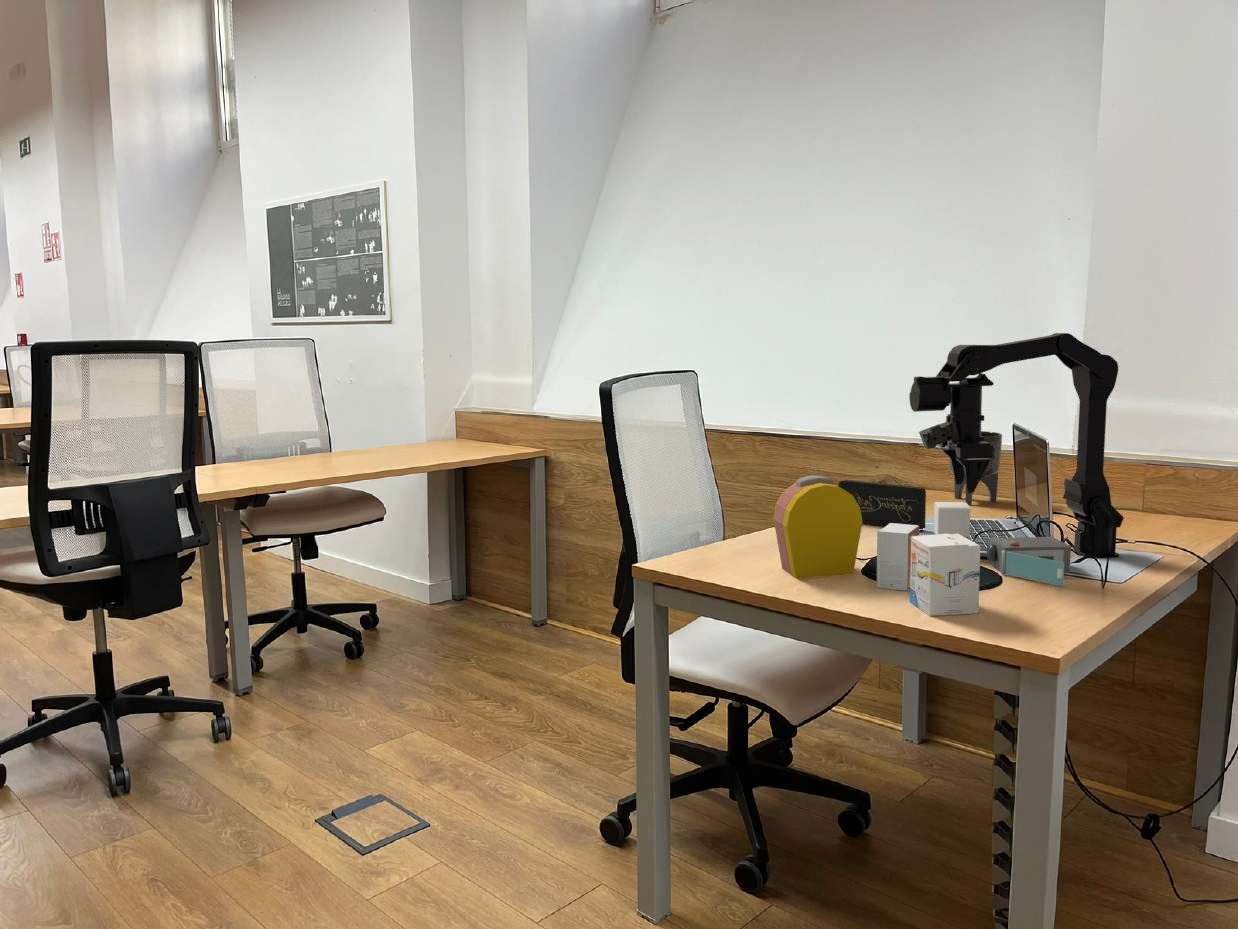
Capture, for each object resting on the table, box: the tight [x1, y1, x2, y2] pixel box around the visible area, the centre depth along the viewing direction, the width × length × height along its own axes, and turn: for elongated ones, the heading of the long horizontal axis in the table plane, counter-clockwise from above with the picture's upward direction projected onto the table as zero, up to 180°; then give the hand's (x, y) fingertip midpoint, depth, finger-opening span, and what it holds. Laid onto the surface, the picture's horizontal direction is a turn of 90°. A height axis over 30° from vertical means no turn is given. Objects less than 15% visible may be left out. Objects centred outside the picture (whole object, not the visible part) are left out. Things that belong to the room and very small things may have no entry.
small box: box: [876, 523, 920, 592], centre depth 167 cm, size 8×6×10 cm
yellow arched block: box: [772, 474, 863, 580], centre depth 177 cm, size 15×8×18 cm, turn 100°
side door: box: [1000, 550, 1065, 587], centre depth 167 cm, size 12×1×4 cm, turn 37°
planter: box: [948, 430, 1003, 506], centre depth 239 cm, size 13×13×18 cm
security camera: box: [933, 501, 972, 539], centre depth 188 cm, size 6×7×10 cm
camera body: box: [985, 536, 1072, 574], centre depth 175 cm, size 13×8×6 cm, turn 87°
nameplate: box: [837, 479, 927, 529], centre depth 215 cm, size 21×2×10 cm, turn 47°
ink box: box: [909, 533, 981, 617], centre depth 152 cm, size 9×8×12 cm
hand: (964, 488), depth 182 cm, fingers open, 9 cm apart
